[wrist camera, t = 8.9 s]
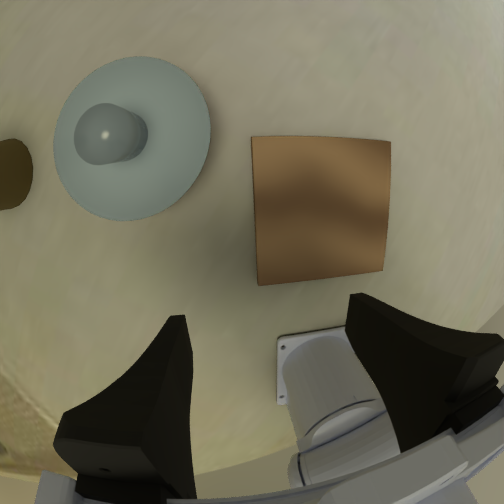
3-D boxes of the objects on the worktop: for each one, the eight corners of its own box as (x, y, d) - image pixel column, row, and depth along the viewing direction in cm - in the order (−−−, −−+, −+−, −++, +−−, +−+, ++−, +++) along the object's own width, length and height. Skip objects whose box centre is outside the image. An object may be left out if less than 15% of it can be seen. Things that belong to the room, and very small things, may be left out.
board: (379, 268, 24) (382, 270, 23) (257, 282, 22) (258, 286, 22) (386, 141, 20) (390, 141, 19) (250, 137, 19) (252, 136, 18)
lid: (224, 198, 16) (227, 215, 12) (79, 232, 16) (45, 257, 12) (197, 45, 13) (193, 12, 9) (53, 92, 12) (14, 81, 8)
